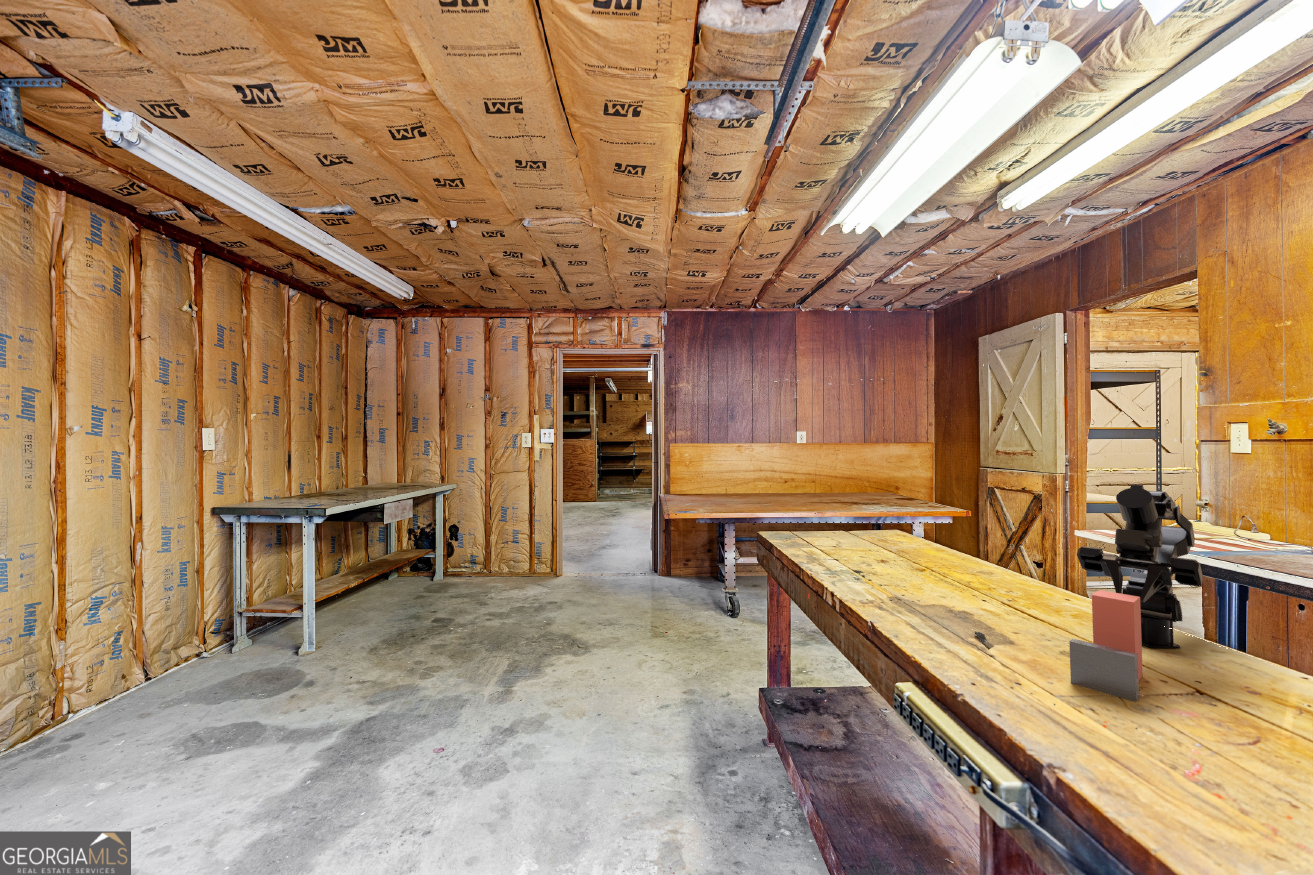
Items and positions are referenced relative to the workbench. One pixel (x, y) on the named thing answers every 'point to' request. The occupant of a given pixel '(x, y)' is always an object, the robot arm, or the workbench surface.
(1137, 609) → the red block on plate
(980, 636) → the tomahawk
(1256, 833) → the workbench surface
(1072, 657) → the plate
